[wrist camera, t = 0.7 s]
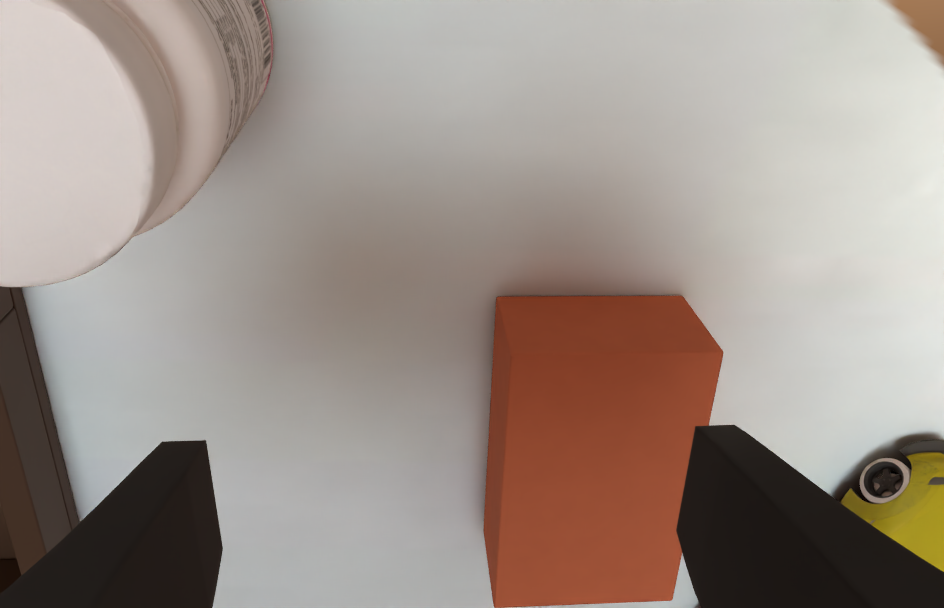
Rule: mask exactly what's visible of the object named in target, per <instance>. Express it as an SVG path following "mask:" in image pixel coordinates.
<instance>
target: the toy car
mask: <svg viewBox="0 0 944 608" xmlns="http://www.w3.org/2000/svg"><path fill="white" fill-rule="evenodd" d="M900 451H901V452H902V453H903V454H904V455H905V456H906V457H907V458H908V459H909V461H910V462H911V466H912V471H911V470H910V469H909V468H908V467H907V466H906V465H905V464H904V463H902V462H901V461H898V460H896V459H892V458H882V459H878V460H876V461H873V462H872V463H870V464H869V465H868V466H867V467H866V468H865V469H864V471H863V472H862V475H861V478H860V487H861V491H862V493H863V495H864V496H865V498H866V499H867V500H869V501H870V502H871V503H872V504H871V503H867V502H865V501H863V500H862V499H861V498H860V497H859V495H858V494H857V493H856V492H855V491H854V490H853V489H851V488H850V489H849V491H848V492H847V493H846V494H845V496H844V497H843V499H842V500H841V502H840V503H841V504H842V505H844V506H845V507H847V508H848V509H849V510H851V511H852V512H854V513H855V514H856V515H858V516H859V517H861V518H862V519H864V520H865V521H866V522H868V523H869V524H871V525H872V526H874V527H875V528H877V529H878V530H879V531H881V532H882V533H884V534H886V535H887V536H889V537H890V538H892V539H893V540H895V541H896V542H898V543H899V544H901V545H902V546H904V547H905V548H907V549H908V550H910V551H911V552H913V553H914V554H916V555H917V556H919V557H920V558H922V559H924V560H925V561H927V562H928V563H930V564H932V565H933V566H935V567H937V568H938V569H940V570H941V571H943V572H944V440H923V441H918V442H914V443H911V444H908V445H906V446H904V447H903V448H901V449H900ZM890 471H895V472H897V473H899V474H900V475H895V474H892V473H890ZM882 474H883V476H881V475H882ZM880 476H881V477H880ZM879 477H880V478H879ZM901 480H902V481H901ZM874 488H875V489H876V491H875V489H874Z"/></svg>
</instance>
